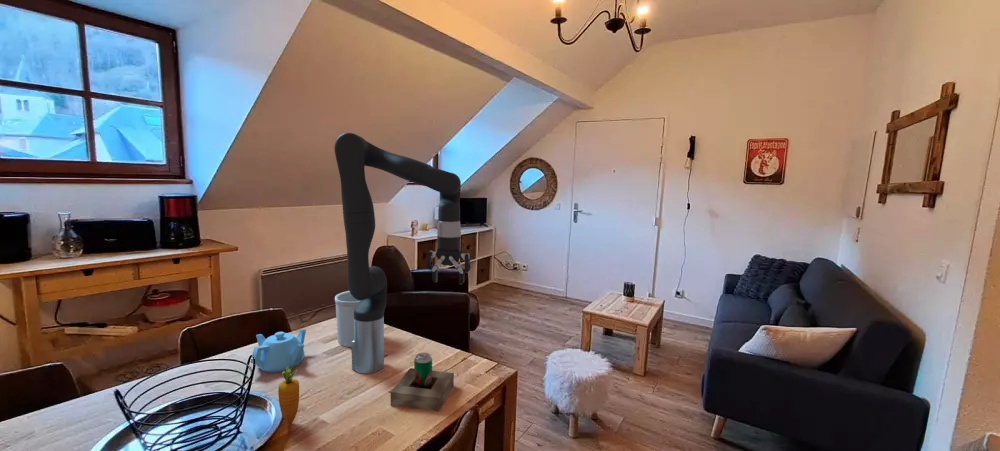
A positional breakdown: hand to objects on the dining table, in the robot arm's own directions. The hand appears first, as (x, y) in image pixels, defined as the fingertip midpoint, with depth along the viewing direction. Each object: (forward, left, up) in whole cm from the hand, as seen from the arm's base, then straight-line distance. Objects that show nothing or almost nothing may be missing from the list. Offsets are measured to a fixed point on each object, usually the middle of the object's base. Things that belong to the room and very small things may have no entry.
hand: (448, 283), depth 133 cm
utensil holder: (-39, +11, -28) cm, 49 cm away
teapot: (-53, -12, -28) cm, 61 cm away
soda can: (-1, -20, -28) cm, 35 cm away
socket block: (-1, -20, -28) cm, 34 cm away
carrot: (-29, -40, -28) cm, 57 cm away
